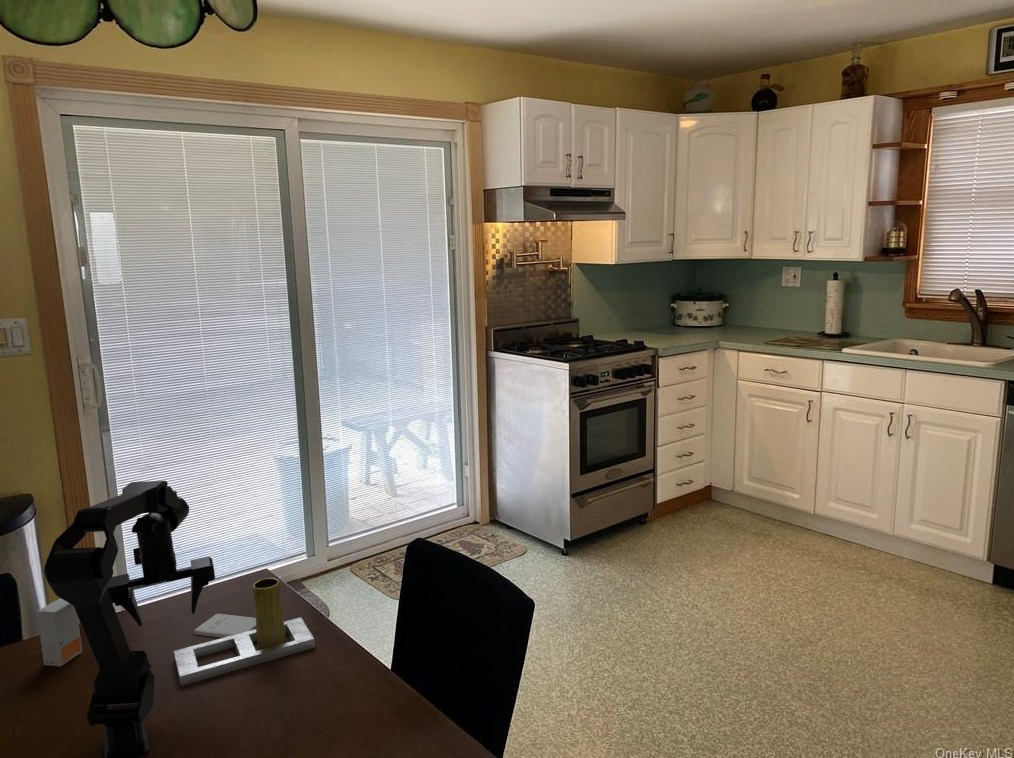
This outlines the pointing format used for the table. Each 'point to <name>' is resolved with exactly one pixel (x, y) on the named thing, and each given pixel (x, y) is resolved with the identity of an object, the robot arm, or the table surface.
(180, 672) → the grey flat frame
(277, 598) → the vase
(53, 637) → the skincare box
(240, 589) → the table surface
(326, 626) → the table surface
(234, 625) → the external hard drive
